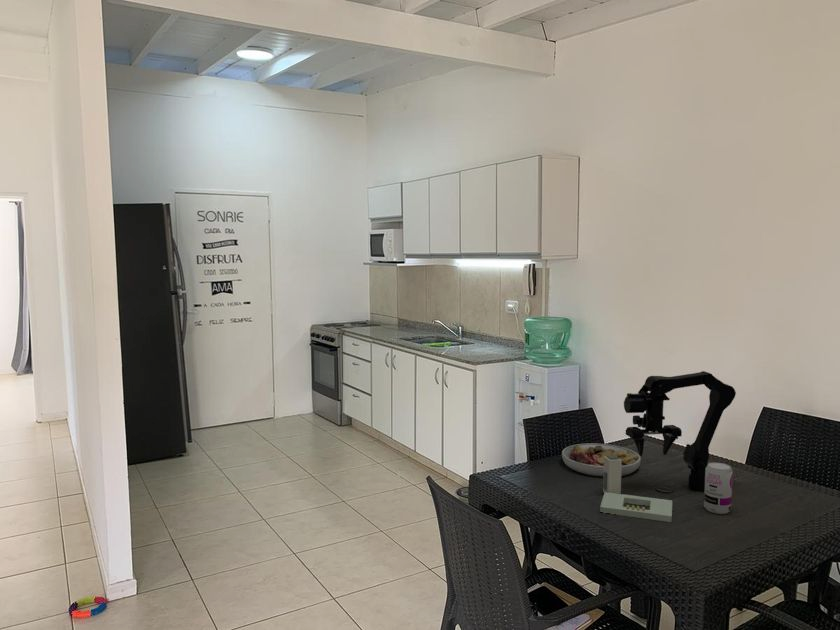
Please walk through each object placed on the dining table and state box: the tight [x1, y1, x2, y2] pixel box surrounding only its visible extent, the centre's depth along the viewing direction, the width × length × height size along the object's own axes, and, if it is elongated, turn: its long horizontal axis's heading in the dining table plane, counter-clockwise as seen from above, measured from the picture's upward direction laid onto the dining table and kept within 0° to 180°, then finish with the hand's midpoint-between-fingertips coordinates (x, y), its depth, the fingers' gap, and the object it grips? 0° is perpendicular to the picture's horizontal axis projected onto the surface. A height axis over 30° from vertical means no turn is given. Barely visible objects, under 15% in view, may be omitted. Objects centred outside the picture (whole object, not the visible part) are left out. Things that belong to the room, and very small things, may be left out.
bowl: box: [561, 442, 642, 477], centre depth 268 cm, size 30×30×8 cm
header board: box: [599, 492, 673, 523], centre depth 225 cm, size 22×14×3 cm, turn 69°
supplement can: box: [703, 462, 734, 515], centre depth 223 cm, size 8×8×15 cm
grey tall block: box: [602, 455, 622, 494], centre depth 238 cm, size 5×4×14 cm
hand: (652, 455), depth 240 cm, fingers open, 9 cm apart
